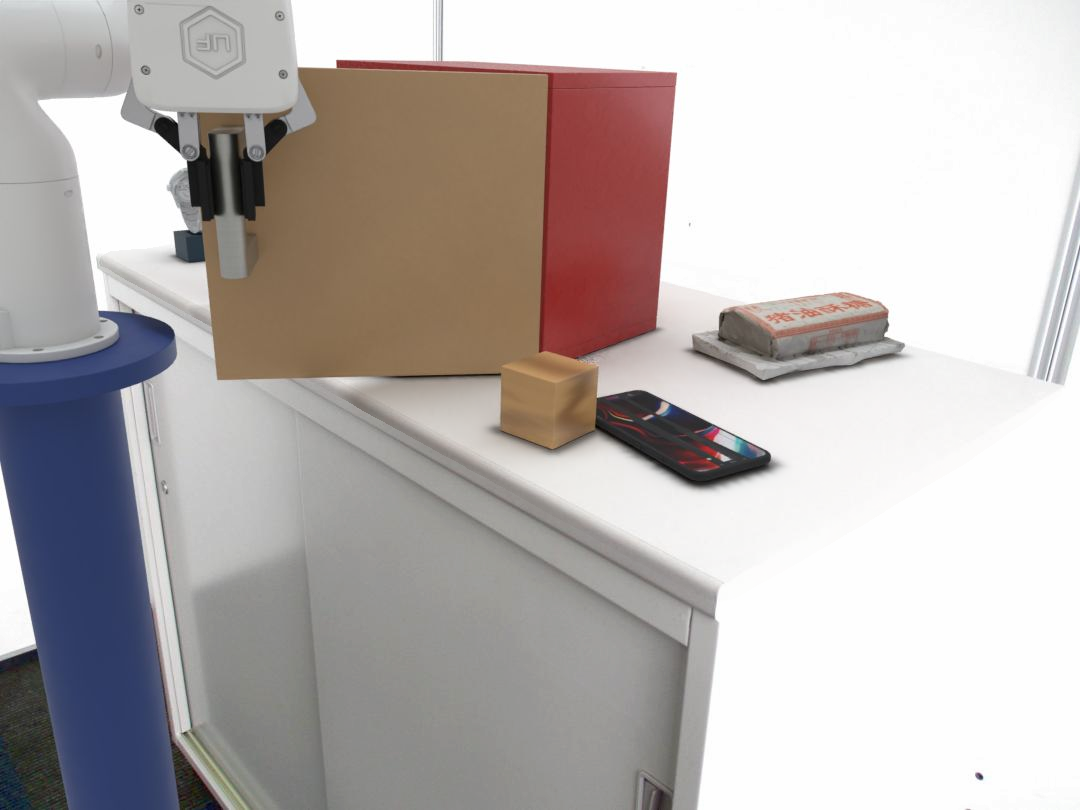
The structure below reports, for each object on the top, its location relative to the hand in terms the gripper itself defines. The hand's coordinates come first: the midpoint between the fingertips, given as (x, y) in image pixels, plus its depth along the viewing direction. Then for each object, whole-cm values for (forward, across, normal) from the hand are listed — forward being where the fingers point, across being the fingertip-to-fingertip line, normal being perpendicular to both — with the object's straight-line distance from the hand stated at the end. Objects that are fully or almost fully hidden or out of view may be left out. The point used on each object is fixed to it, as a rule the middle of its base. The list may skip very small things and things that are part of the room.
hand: (229, 215), depth 64 cm
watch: (+15, -6, +54) cm, 57 cm away
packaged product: (+15, +50, +5) cm, 52 cm away
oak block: (+14, +21, -8) cm, 27 cm away
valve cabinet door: (+14, +10, +3) cm, 18 cm away
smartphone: (+14, +30, -11) cm, 35 cm away
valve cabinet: (+15, +24, +21) cm, 35 cm away
